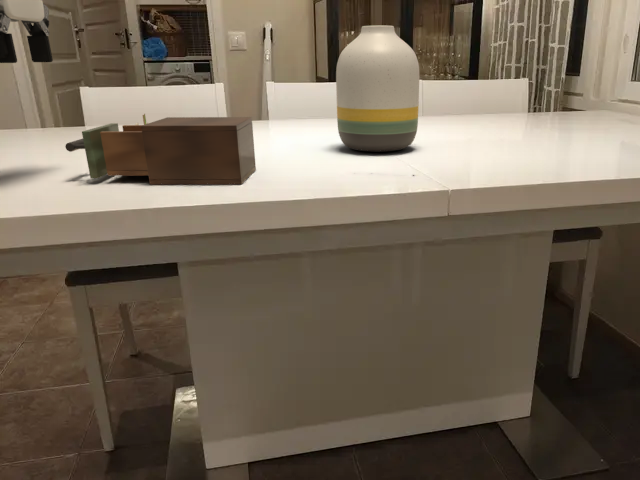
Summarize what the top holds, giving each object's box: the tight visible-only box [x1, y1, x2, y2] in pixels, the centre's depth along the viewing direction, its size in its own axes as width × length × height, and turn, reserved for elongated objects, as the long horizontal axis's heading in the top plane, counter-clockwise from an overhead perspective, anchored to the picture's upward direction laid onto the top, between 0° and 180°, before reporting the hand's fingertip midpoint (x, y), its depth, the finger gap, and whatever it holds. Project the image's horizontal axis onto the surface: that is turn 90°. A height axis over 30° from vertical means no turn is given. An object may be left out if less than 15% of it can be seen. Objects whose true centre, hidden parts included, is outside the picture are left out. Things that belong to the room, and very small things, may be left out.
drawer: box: [64, 122, 148, 179], centre depth 92 cm, size 18×10×7 cm, turn 89°
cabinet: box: [141, 116, 257, 186], centre depth 91 cm, size 15×12×9 cm
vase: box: [335, 25, 420, 153], centre depth 114 cm, size 17×17×24 cm
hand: (25, 62), depth 87 cm, fingers open, 9 cm apart
